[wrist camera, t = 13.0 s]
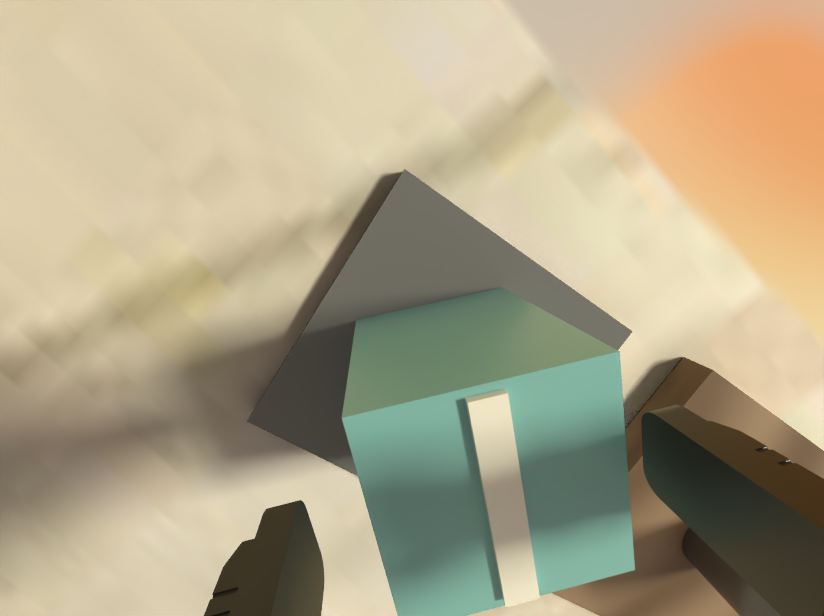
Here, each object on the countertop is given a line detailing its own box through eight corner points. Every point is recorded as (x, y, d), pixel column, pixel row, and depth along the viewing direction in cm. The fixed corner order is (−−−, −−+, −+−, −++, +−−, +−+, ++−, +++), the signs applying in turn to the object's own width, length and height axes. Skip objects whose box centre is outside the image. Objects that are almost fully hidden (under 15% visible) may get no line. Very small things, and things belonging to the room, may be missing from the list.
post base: (522, 556, 18) (610, 753, 12) (683, 356, 17) (894, 452, 10) (689, 637, 21) (839, 838, 14) (843, 472, 19) (1097, 610, 13)
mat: (253, 410, 15) (247, 421, 15) (402, 171, 14) (404, 169, 13) (471, 519, 18) (475, 533, 17) (619, 325, 16) (632, 331, 15)
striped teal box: (356, 320, 14) (340, 423, 7) (502, 287, 14) (626, 355, 7) (389, 449, 15) (403, 641, 8) (521, 417, 16) (640, 577, 9)
